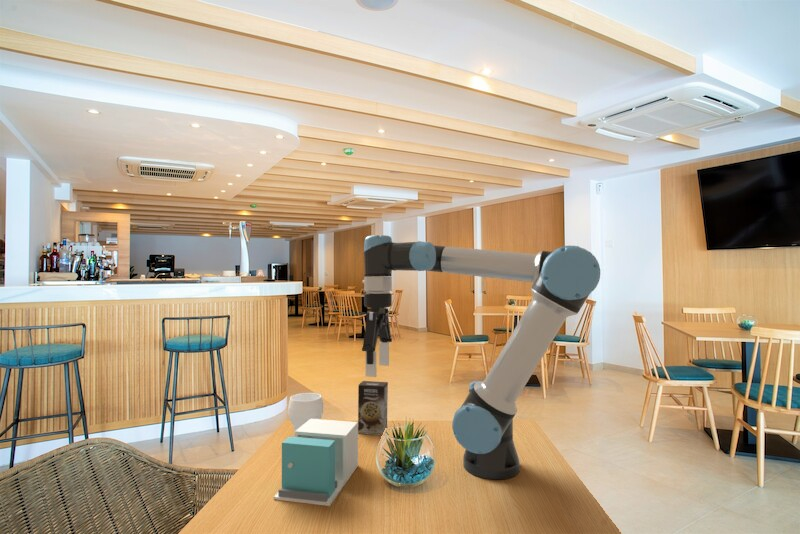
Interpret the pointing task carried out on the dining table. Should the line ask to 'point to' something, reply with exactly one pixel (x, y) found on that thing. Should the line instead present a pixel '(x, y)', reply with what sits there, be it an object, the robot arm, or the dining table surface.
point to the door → (308, 465)
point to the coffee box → (372, 407)
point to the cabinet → (344, 457)
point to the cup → (304, 408)
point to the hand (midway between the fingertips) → (377, 370)
